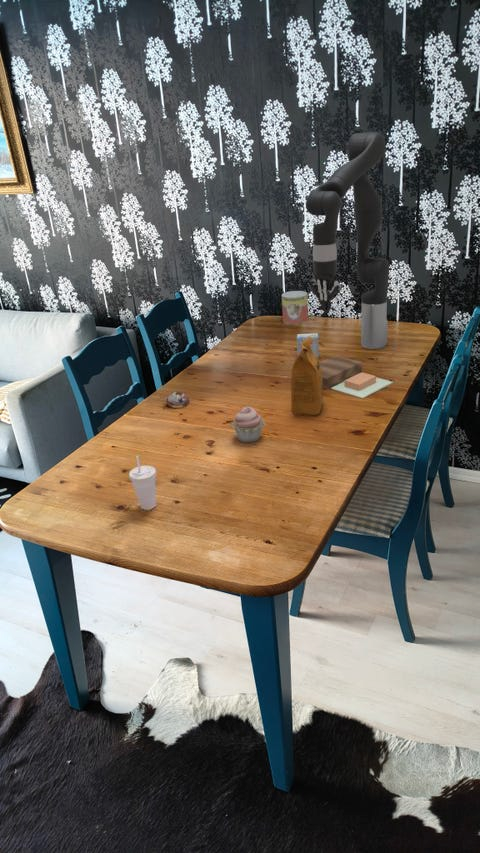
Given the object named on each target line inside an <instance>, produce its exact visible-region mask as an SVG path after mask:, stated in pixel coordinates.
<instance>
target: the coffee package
mask: <svg viewBox="0 0 480 853" xmlns="http://www.w3.org/2000/svg"><path fill="white" fill-rule="evenodd" d="M312 343H313V339H312V338H311V337H308V338H307V339H306V340H305V341H304V342H303V343H301V347H302V351H301V353H300V354H299V356H298V355H297V357H296V358H295V360H294V362H293V366H292V368H291V376H290V378H291V379H290V391H291V393H290V394H291V396H290V397H291V398H290V399H291V400H290V401H291V413H292V415H293V416H301V415H309V416H314V415H319V414H320V412H321V409H322V405H323V400H324V397H323V396H324V388H323V376H322V369H321V365H320V362H321V361H320V360H319V358H317V357H316V356H315V355H314V354H313V352H312V349H311V347H310V345H311V344H312Z"/></svg>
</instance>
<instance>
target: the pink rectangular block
mask: <svg viewBox="0 0 480 853" xmlns="http://www.w3.org/2000/svg"><path fill="white" fill-rule="evenodd" d="M376 377H377V376H376V375H373V374H370V373H366V372H363V371H362V372H361V373H359V374H357V375H355V376H353V377H351V378H349V379H347V380H344V386H345V387H347V388H351V389H354V390H357V391H360V390H362V389H364V388H366V387H368V386H370V385H372V384H374V383H376Z"/></svg>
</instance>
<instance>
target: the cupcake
mask: <svg viewBox="0 0 480 853" xmlns="http://www.w3.org/2000/svg"><path fill="white" fill-rule="evenodd" d="M264 424H265V421H264V420H263V418H262V417H261V416H260V414H259V413H257V411H256V409H254V408H252V407H250V406H245V407H243V408H242V409H241V411H239V412H238V413H237V414H235V418H234V420H233V422H232V423H231V426H232V427H233V429H234V431H235V433H236V436H237V439H238V441H240V442H241V443H245V444H246V443H248V444H249V443H253V442H254V443H255V442H257V441H259V440H260V438H261V433H262V429H263V426H264Z"/></svg>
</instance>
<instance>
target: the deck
mask: <svg viewBox="0 0 480 853" xmlns="http://www.w3.org/2000/svg"><path fill="white" fill-rule="evenodd" d="M319 362H320V365H321V369H322V376H323V390H327V391H328V390H331V388H332V387H334V386H336V385H338V384H340V383H342V382H344V380H347V379H349V378H351V377H353V376H355V375H357V374H359V373H361V372H363V362H362V361H357V360H355V359H350V358H346V357H343V356H339V355H333V356H330V357H329V358H326V359H324V360H321V361H319Z"/></svg>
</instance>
